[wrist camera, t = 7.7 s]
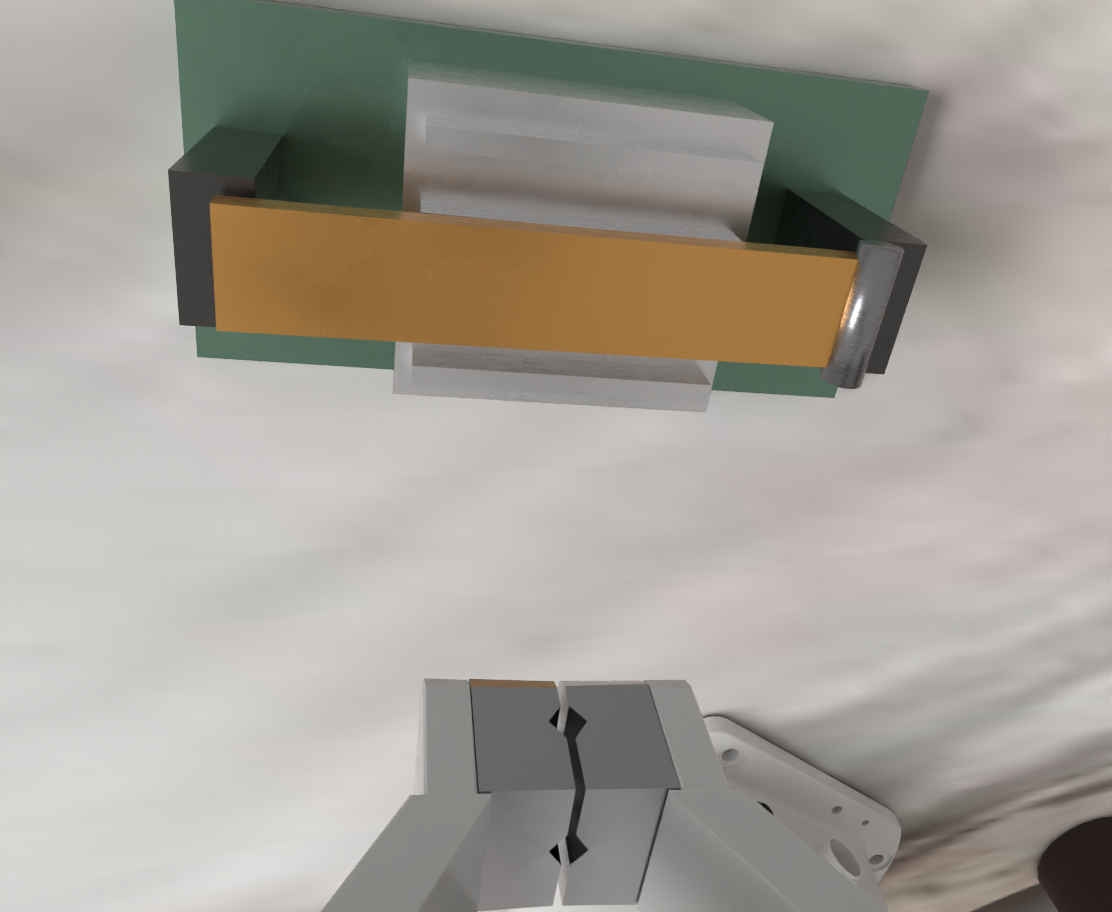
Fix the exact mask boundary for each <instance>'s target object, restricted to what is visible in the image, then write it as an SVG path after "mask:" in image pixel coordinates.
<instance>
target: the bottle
mask: <svg viewBox="0 0 1112 912" xmlns="http://www.w3.org/2000/svg"><path fill="white" fill-rule="evenodd" d="M1038 880H1039V882H1040V884H1041V885H1042V887H1043V888H1044V890H1045V891H1046V893H1047V894H1048V896H1049V897H1050V899H1051V900H1052V902H1053V903H1054V905H1055V907H1056V908H1057V910H1058V911H1059V912H1112V818H1108V819H1099V820H1095V821H1092V822H1089V823H1086V824H1082V825H1080V826H1078V827H1076V828H1074V829H1072V830H1070V831H1068V832H1067V833H1065V834H1064V835H1062V836H1061V837H1060V838H1058V839H1057V840H1056V841H1055V842H1053V843H1052V844H1051V846H1050V847H1049V848H1048V849H1047V850H1046V851H1045V853H1044V854H1043V856H1042V858H1041V861H1040V863H1039V865H1038Z"/></svg>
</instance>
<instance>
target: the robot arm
mask: <svg viewBox="0 0 1112 912" xmlns="http://www.w3.org/2000/svg"><path fill="white" fill-rule="evenodd" d="M900 838H901V827H900V824H899V822H898V819H897V817H896V815H895V814H894V813H893V812H892V811H891V810H889V809H887V808H886V807H884V806H882V805H880V804H879V803H877V802H875V801H873V800H872V799H870V798H868V797H866V796H865V795H863V794H861V793H859V792H857V791H856V790H854V789H852V788H850V787H848V786H847V785H845V784H843V783H841V782H839V781H838V780H836V779H834V778H832V777H831V776H829V775H827V774H825V773H823V772H822V771H820V770H818V769H816V768H814V767H813V766H811V765H809V764H807V763H806V762H804V761H802V760H800V759H798V758H797V757H795V756H793V755H791V754H789V753H788V752H786V751H784V750H782V749H780V748H779V747H777V746H775V745H773V744H772V743H770V742H768V741H766V740H764V739H763V738H761V737H759V736H757V735H755V734H754V733H752V732H750V731H748V730H747V729H745V728H743V727H741V726H739V725H738V724H736V723H734V722H732V721H730V720H728V719H726V718H724V717H718V716H712V717H706V718H703V717H702V714H701V712H700V709H699V706H698V704H697V701H696V698H695V696H694V693H693V690H692V688H691V686H690V685H689V684H688V683H687V682H686V681H685V680H644V681H643V682H642V681H560V683H559V685H558V687H556V685H555V683H554V681H520V680H485V679H469V681H467V680H450V679H424V681H423V684H422V693H421V705H420V717H419V729H418V742H417V755H416V773H415V791H414V795H410V796H409V797H408V799H407V800H406V801H405V803H404V804H403V805H402V806H401V808H400V809H399V810H398V812H397V813H396V814H395V816H394V817H393V818H392V819H391V821H390V822H389V823H388V825H387V826H386V827H385V829H384V830H383V831H382V833H381V834H380V835H379V836H378V838H377V839H376V840H375V842H374V843H373V844H372V846H371V847H370V848H369V849H368V851H367V852H366V853H365V855H364V856H363V857H362V859H361V860H360V861H359V863H358V864H357V865H356V866H355V868H354V869H353V870H352V872H351V873H350V874H349V876H348V877H347V878H346V879H345V881H344V882H343V883H342V885H341V886H340V887H339V889H338V890H337V891H336V893H335V894H334V895H333V896H332V898H331V899H330V900H329V902H328V903H327V904H326V906H325V907H324V908H323V909H322V911H321V912H477V911H487V910H502V909H507V912H888V908H887V905H886V902H885V899H884V896H883V894H882V891H881V889H880V886H879V884H878V883H879V881H880V880H881V879H882V877H883V876H884V874H885V873H886V871H887V870H888V868H889V866H890V864H891V863H892V861H893V859H894V857H895V854H896V852H897V850H898V846H899V843H900Z"/></svg>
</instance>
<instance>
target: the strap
mask: <svg viewBox="0 0 1112 912" xmlns="http://www.w3.org/2000/svg"><path fill="white" fill-rule="evenodd" d="M210 220H211V238H212V257H213V276H214V294H215V313H216V331H227V332H244V333H260V334H277V335H294V336H310V337H327V338H343V339H360V340H376V341H393V342H410V343H426V344H443V345H459V346H476V347H493V348H509V349H526V350H542V351H559V352H576V353H592V354H609V355H625V356H642V357H659V358H675V359H692V360H708V361H725V362H742V363H758V364H775V365H791V366H808V367H822V369H821V373H820V377H821V379H822V380H824V381H825V382H827V383H829V384H831V385H834V386H837V387H841V388H847V389H855V388H859V387H860V386H861V384H862V381H863V378H864V375H865V372H866V368H867V365H868V362H869V359H870V356H871V353H872V350H873V347H874V344H875V340H876V337H877V334H878V331H879V328H880V325H881V322H882V319H883V316H884V313H885V309H886V306H887V303H888V300H889V297H890V294H891V291H892V288H893V285H894V281H895V278H896V275H897V272H898V269H899V266H900V263H901V260H902V257H903V253H904V249H902V248H901V247H899V246H897V245H894V244H891V243H887V242H883V241H878V240H869V239H865V240H860V241H859V244H858V248H857V251H856V252H853V251H841V250H830V249H819V248H807V247H796V246H785V245H774V244H762V243H751V242H740V241H729V240H717V239H706V238H695V237H684V236H672V235H661V234H650V233H639V232H627V231H616V230H605V229H594V228H582V227H571V226H560V225H548V224H537V223H526V222H515V221H503V220H492V219H481V218H470V217H458V216H447V215H436V214H425V213H413V212H402V211H391V210H380V209H368V208H357V207H346V206H335V205H323V204H312V203H301V202H290V201H278V200H267V199H256V198H244V197H233V196H222V195H215V196H214V198H213V199H212V201H211V202H210Z"/></svg>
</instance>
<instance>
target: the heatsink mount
mask: <svg viewBox="0 0 1112 912" xmlns="http://www.w3.org/2000/svg"><path fill="white" fill-rule="evenodd" d="M174 5H175V20H176V36H177V51H178V66H179V82H180V97H181V112H182V128H183V143H184V155H183V156H182V157H181V158H180V159H179V160H178V161H177V162H176V163H175V164H174V165H173V166H172V167H171V168H170V169H169V170H168V175H169V188H170V202H171V215H172V229H173V242H174V256H175V269H176V283H177V296H178V310H179V323H180V325H188V326H195V327H196V342H197V357H206V358H222V359H237V360H253V361H268V362H284V363H299V364H315V365H331V366H346V367H362V368H377V369H393V370H394V383H393V394H407V395H424V396H440V397H457V398H474V399H491V400H508V401H524V402H541V403H558V404H575V405H592V406H608V407H625V408H642V409H659V410H676V411H692V412H706V410H707V405H708V401H709V397H710V393H711V390H720V391H735V392H751V393H766V394H782V395H797V396H813V397H828V398H834V397H835V394H836V391H837V386H834V385H831V384H829V383H827V382H825V381H824V380H822V379H821V377H820V373H821V369H822V367H808V366H791V365H775V364H758V363H742V362H725V361H708V360H692V359H675V358H659V357H642V356H625V355H609V354H592V353H576V352H559V351H542V350H526V349H509V348H493V347H476V346H459V345H443V344H426V343H410V342H393V341H376V340H360V339H343V338H327V337H310V336H294V335H277V334H260V333H244V332H227V331H216V313H215V294H214V276H213V257H212V238H211V220H210V202H211V201H212V199H213V198H214V196H215V195H222V196H233V197H244V198H256V199H267V200H278V201H290V202H301V203H312V204H323V205H335V206H346V207H357V208H368V209H380V210H391V211H402V212H413V213H425V214H436V215H447V216H458V217H470V218H481V219H492V220H503V221H515V222H526V223H537V224H548V225H560V226H571V227H582V228H594V229H605V230H616V231H627V232H639V233H650V234H661V235H672V236H684V237H695V238H706V239H717V240H729V241H740V242H751V243H762V244H774V245H785V246H796V247H807V248H819V249H830V250H841V251H853V252H856V251H857V248H858V244H859V241H860V240H865V239H869V240H878V241H883V242H887V243H891V244H894V245H897V246H899V247H901V248H902V249H904V253H903V257H902V260H901V263H900V266H899V269H898V272H897V275H896V278H895V281H894V285H893V288H892V291H891V294H890V297H889V300H888V303H887V306H886V309H885V313H884V316H883V319H882V322H881V325H880V328H879V331H878V334H877V337H876V340H875V344H874V347H873V350H872V353H871V356H870V359H869V362H868V365H867V368H866V372H865V373H873V374H884V373H885V370H886V367H887V364H888V361H889V358H890V355H891V352H892V349H893V346H894V343H895V340H896V337H897V334H898V331H899V328H900V325H901V322H902V319H903V316H904V313H905V310H906V307H907V304H908V301H909V298H910V295H911V292H912V289H913V286H914V283H915V280H916V277H917V274H918V271H919V268H920V265H921V262H922V259H923V256H924V253H925V250H926V247H927V245H926V244H925V243H923V242H921V241H920V240H918V239H916V238H915V237H913V236H911V235H910V234H908V233H907V232H905V231H903V230H902V229H900V228H898V227H897V226H895V225H893V224H892V223H890V222H889V219H890V216H891V212H892V209H893V206H894V203H895V199H896V196H897V193H898V190H899V186H900V183H901V180H902V177H903V173H904V170H905V167H906V164H907V160H908V157H909V154H910V151H911V147H912V144H913V141H914V138H915V134H916V131H917V128H918V125H919V121H920V118H921V115H922V112H923V108H924V105H925V102H926V99H927V96H928V92H929V91H927V90H924V89H920V88H917V87H914V86H909V85H902V84H894V83H887V82H879V81H872V80H864V79H857V78H849V77H842V76H834V75H827V74H819V73H812V72H804V71H797V70H789V69H782V68H774V67H767V66H759V65H752V64H744V63H737V62H729V61H722V60H714V59H707V58H699V57H691V56H684V55H676V54H669V53H661V52H654V51H646V50H639V49H631V48H624V47H616V46H609V45H601V44H594V43H586V42H579V41H571V40H564V39H556V38H549V37H541V36H534V35H526V34H519V33H511V32H504V31H496V30H489V29H481V28H474V27H466V26H459V25H451V24H444V23H436V22H428V21H421V20H413V19H406V18H398V17H391V16H383V15H376V14H368V13H361V12H353V11H346V10H338V9H331V8H323V7H316V6H308V5H301V4H293V3H286V2H278V1H271V0H174Z"/></svg>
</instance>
